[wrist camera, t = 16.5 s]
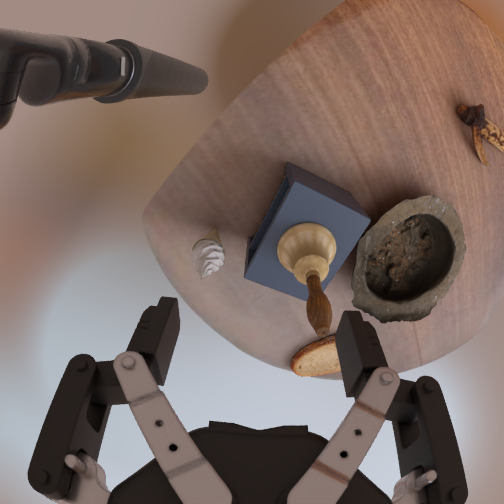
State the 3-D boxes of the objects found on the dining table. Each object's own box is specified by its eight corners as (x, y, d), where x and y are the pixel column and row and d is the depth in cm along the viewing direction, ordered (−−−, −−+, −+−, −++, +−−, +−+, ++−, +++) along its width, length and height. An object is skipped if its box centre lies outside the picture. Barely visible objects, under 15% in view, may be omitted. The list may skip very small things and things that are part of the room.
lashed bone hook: (443, 136, 41) (499, 177, 43) (456, 141, 37) (512, 185, 39) (459, 93, 36) (514, 139, 38) (473, 95, 32) (528, 146, 34)
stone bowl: (334, 302, 59) (343, 332, 50) (346, 181, 48) (361, 195, 40) (435, 297, 57) (452, 321, 49) (459, 189, 46) (486, 204, 38)
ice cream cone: (230, 242, 53) (219, 295, 40) (202, 241, 53) (183, 292, 40) (230, 216, 50) (218, 264, 38) (201, 215, 51) (180, 261, 38)
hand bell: (283, 279, 43) (290, 366, 29) (270, 229, 39) (273, 310, 25) (339, 267, 42) (367, 350, 28) (331, 216, 38) (366, 290, 24)
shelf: (247, 242, 53) (243, 277, 43) (287, 161, 45) (294, 181, 36) (306, 266, 55) (314, 304, 45) (350, 193, 47) (371, 220, 38)
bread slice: (285, 367, 70) (285, 379, 67) (318, 319, 62) (320, 332, 58) (344, 378, 73) (346, 389, 70) (382, 335, 64) (386, 346, 61)
